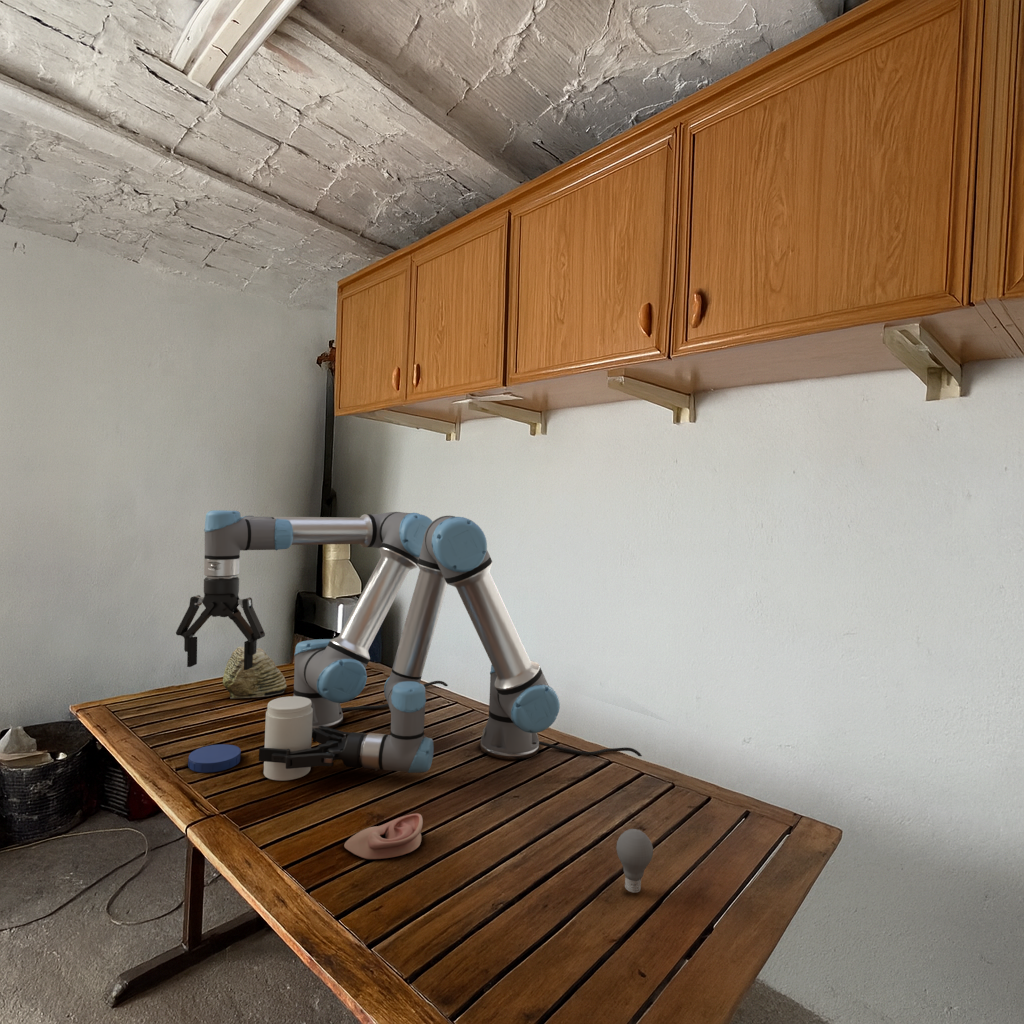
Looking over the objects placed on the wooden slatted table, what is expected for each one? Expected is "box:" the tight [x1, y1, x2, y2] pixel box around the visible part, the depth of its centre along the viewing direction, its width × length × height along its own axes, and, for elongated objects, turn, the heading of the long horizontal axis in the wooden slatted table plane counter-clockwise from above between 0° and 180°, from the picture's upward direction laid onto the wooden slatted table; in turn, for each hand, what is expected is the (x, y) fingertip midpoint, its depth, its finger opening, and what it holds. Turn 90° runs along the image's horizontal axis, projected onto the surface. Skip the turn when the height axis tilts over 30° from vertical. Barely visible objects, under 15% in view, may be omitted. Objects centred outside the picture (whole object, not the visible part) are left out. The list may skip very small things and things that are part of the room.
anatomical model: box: [343, 813, 424, 860], centre depth 117 cm, size 13×4×12 cm
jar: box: [263, 695, 313, 782], centre depth 145 cm, size 10×10×16 cm
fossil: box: [222, 646, 288, 699], centre depth 198 cm, size 9×18×15 cm, turn 132°
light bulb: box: [615, 828, 654, 894], centre depth 106 cm, size 6×6×10 cm
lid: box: [187, 743, 242, 773], centre depth 148 cm, size 11×11×2 cm
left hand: (220, 667), depth 148 cm, fingers open, 13 cm apart
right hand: (272, 743), depth 146 cm, fingers open, 12 cm apart
